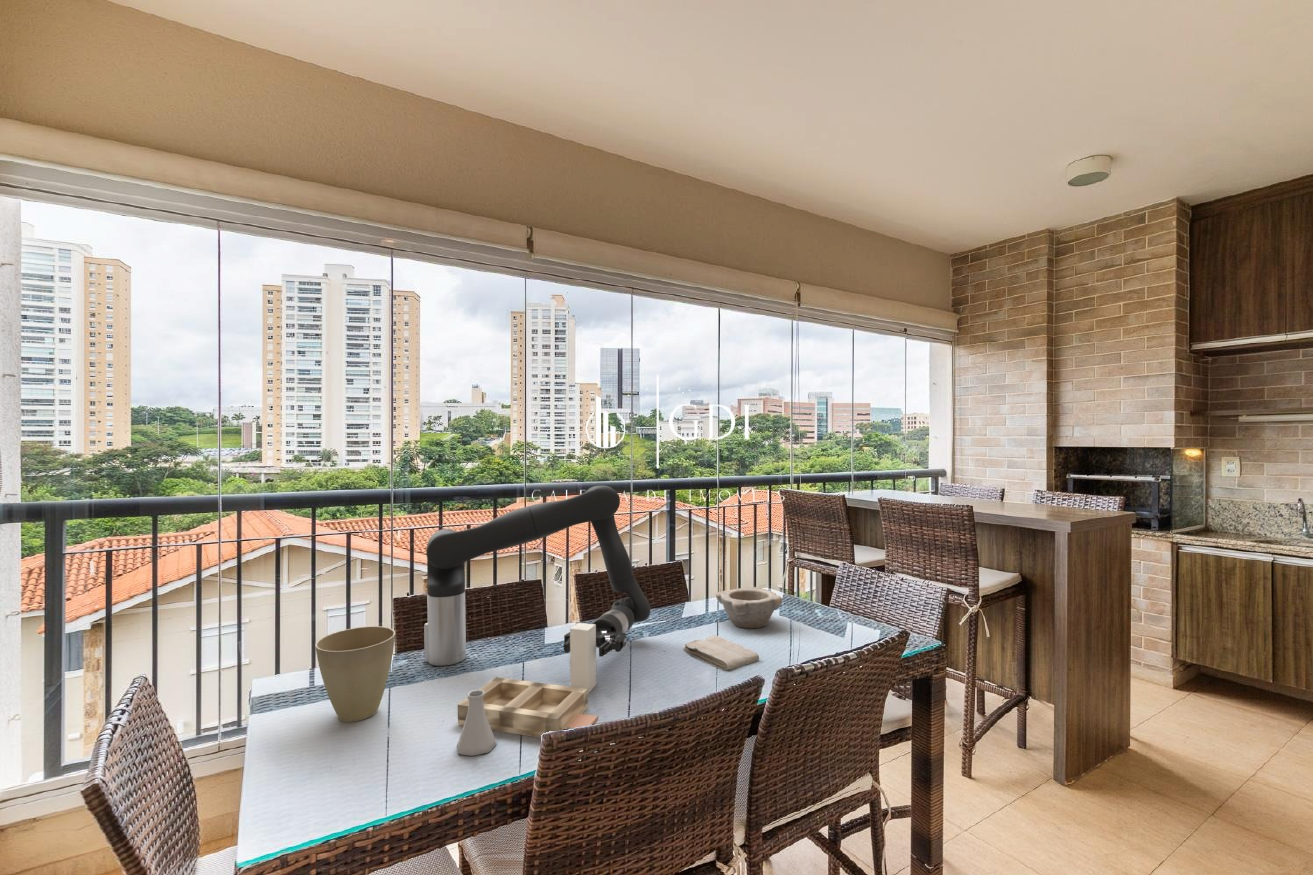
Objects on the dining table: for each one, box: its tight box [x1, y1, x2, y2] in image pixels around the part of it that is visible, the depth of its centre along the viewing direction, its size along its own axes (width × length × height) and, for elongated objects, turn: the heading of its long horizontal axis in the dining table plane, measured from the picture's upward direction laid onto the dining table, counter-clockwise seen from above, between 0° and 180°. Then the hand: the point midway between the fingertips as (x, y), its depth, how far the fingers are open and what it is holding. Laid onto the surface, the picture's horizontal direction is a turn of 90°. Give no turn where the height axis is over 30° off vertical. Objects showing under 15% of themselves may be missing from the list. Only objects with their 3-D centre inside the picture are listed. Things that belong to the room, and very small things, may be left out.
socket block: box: [457, 676, 599, 739], centre depth 123 cm, size 26×14×4 cm, turn 73°
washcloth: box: [683, 635, 760, 671], centre depth 156 cm, size 12×18×3 cm, turn 37°
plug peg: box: [569, 622, 597, 694], centre depth 137 cm, size 4×4×14 cm
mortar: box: [715, 586, 783, 629], centre depth 182 cm, size 17×17×9 cm
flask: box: [456, 689, 497, 756], centre depth 112 cm, size 7×7×10 cm
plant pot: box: [314, 625, 396, 723], centre depth 125 cm, size 15×15×16 cm
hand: (583, 650), depth 137 cm, fingers open, 8 cm apart
